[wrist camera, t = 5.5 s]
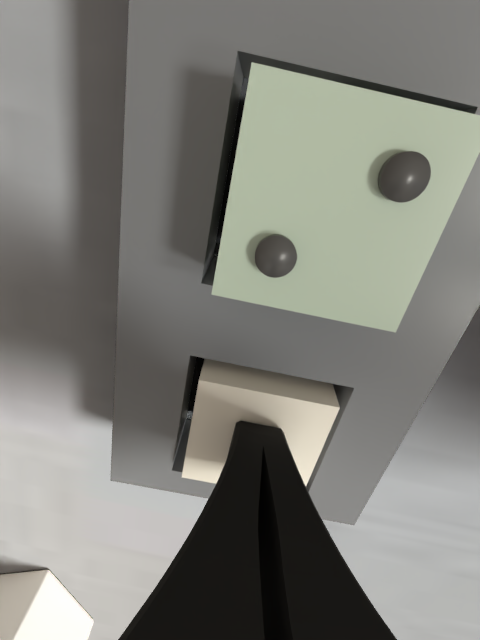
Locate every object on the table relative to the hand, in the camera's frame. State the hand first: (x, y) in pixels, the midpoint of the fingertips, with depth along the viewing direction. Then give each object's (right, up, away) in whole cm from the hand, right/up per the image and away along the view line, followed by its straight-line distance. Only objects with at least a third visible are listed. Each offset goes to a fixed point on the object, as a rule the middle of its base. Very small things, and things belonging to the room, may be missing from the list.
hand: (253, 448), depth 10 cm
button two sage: (+2, +7, 0) cm, 8 cm away
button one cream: (0, +2, +4) cm, 4 cm away
